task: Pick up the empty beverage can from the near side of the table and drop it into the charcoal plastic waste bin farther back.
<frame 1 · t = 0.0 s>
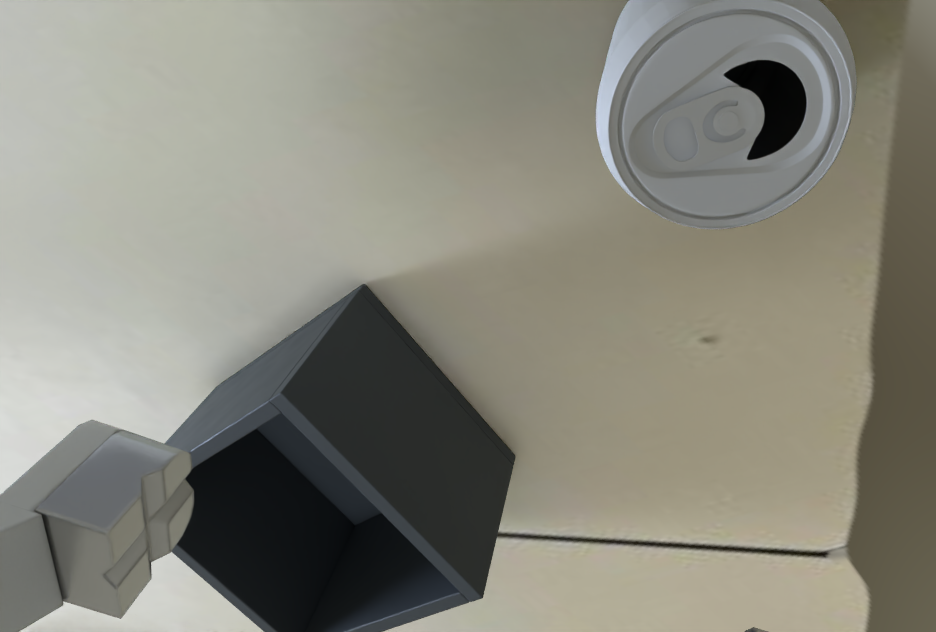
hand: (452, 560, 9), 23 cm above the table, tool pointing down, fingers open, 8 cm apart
waste bin: (361, 420, 40), on the table
beverage can: (692, 46, 26), on the table
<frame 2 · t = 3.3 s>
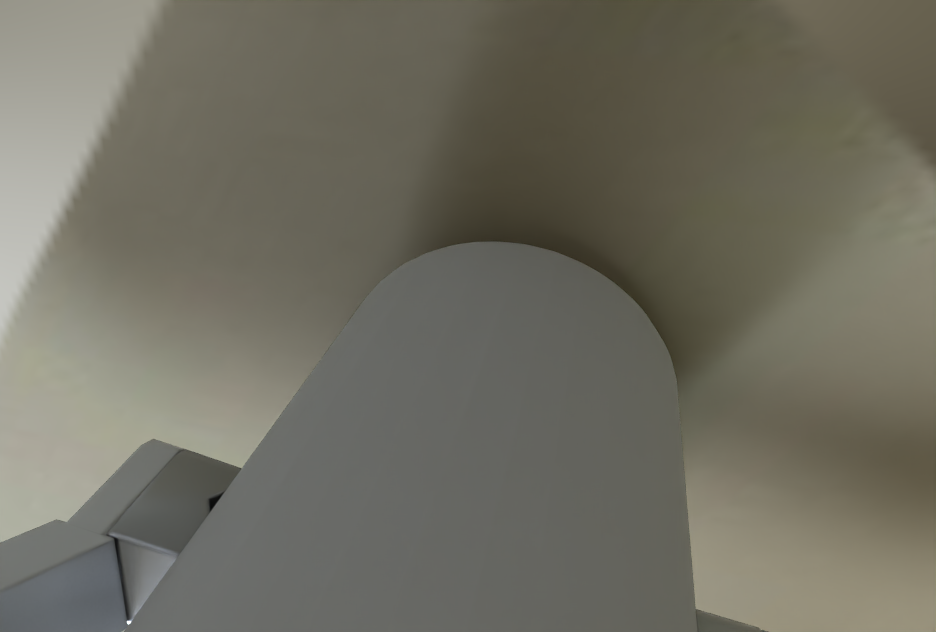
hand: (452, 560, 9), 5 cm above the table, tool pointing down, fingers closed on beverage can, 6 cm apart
beverage can: (511, 365, 14), on the table, touching gripper
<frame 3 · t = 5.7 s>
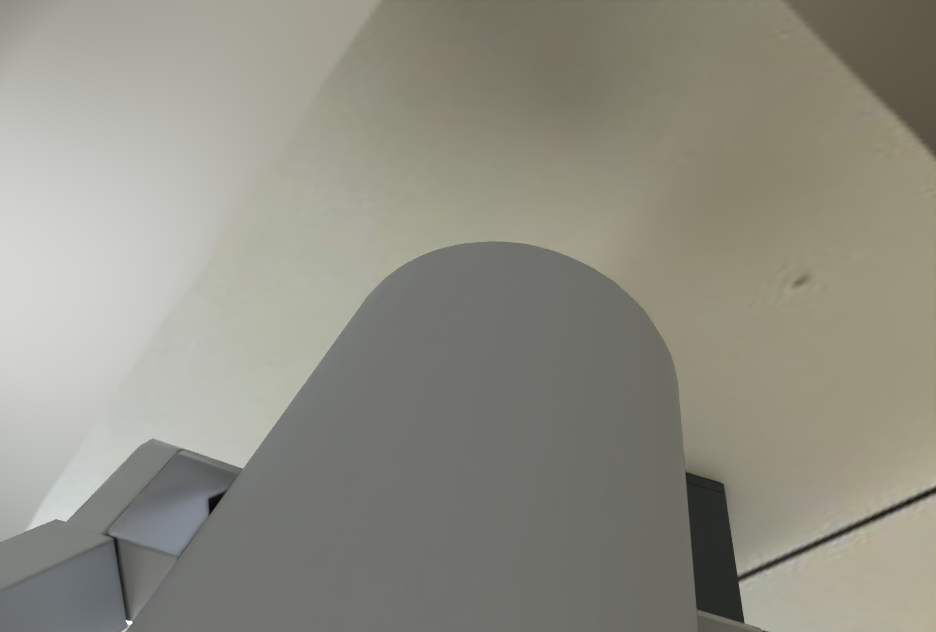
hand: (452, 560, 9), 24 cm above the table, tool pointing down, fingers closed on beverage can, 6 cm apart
waste bin: (576, 526, 42), on the table
beverage can: (511, 365, 14), point 19 cm above the table, touching gripper
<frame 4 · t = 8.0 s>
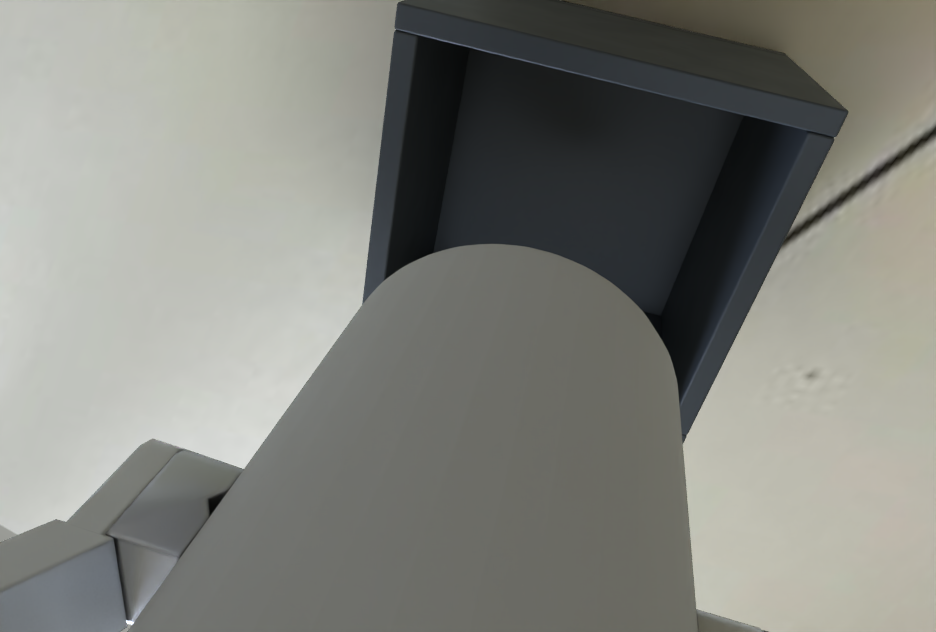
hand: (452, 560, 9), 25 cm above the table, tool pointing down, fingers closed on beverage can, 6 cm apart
waste bin: (578, 168, 31), on the table
beverage can: (511, 368, 13), point 20 cm above the table, touching gripper
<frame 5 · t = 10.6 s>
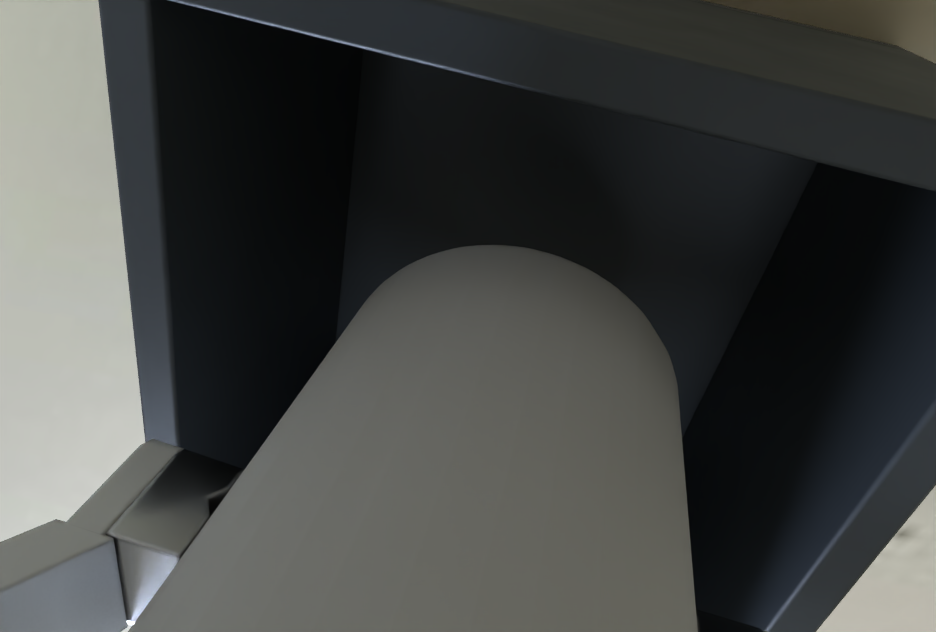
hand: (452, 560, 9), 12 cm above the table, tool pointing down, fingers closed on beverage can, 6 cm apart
waste bin: (549, 228, 20), on the table
beverage can: (511, 368, 13), point 8 cm above the table, touching gripper
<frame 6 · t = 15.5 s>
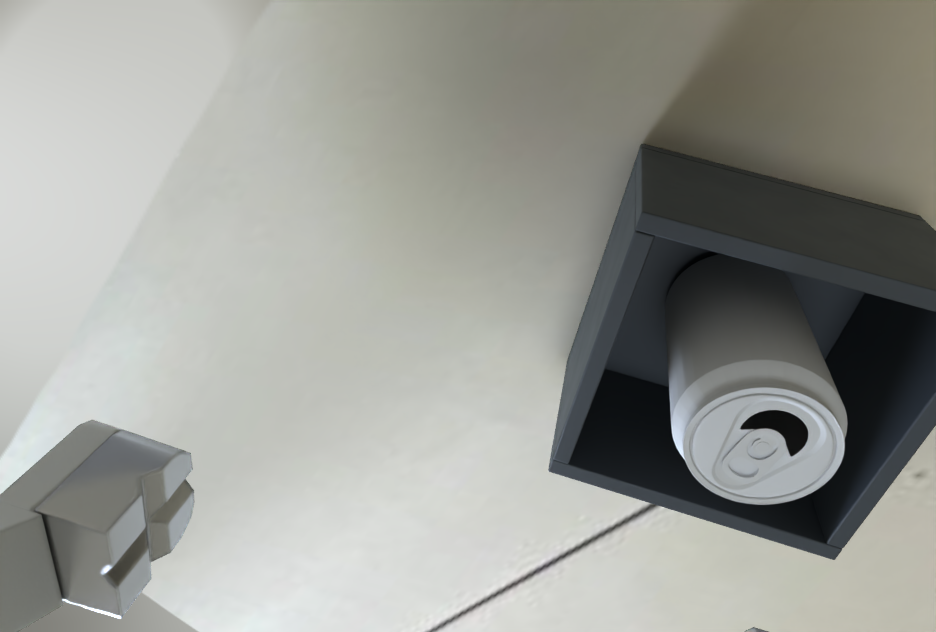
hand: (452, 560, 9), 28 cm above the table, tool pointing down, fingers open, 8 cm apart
waste bin: (723, 296, 36), on the table
beverage can: (726, 300, 35), point 1 cm above the table, touching waste bin
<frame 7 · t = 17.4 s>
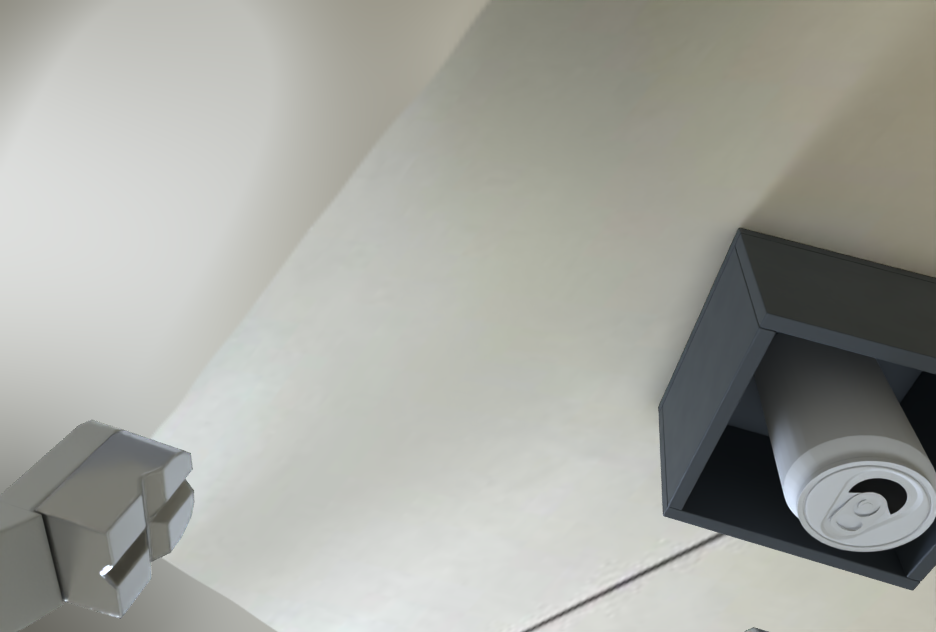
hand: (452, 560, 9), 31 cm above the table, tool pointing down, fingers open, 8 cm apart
waste bin: (804, 355, 40), on the table
beverage can: (808, 359, 40), point 1 cm above the table, touching waste bin
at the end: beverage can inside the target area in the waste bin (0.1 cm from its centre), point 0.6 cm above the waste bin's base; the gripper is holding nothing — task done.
